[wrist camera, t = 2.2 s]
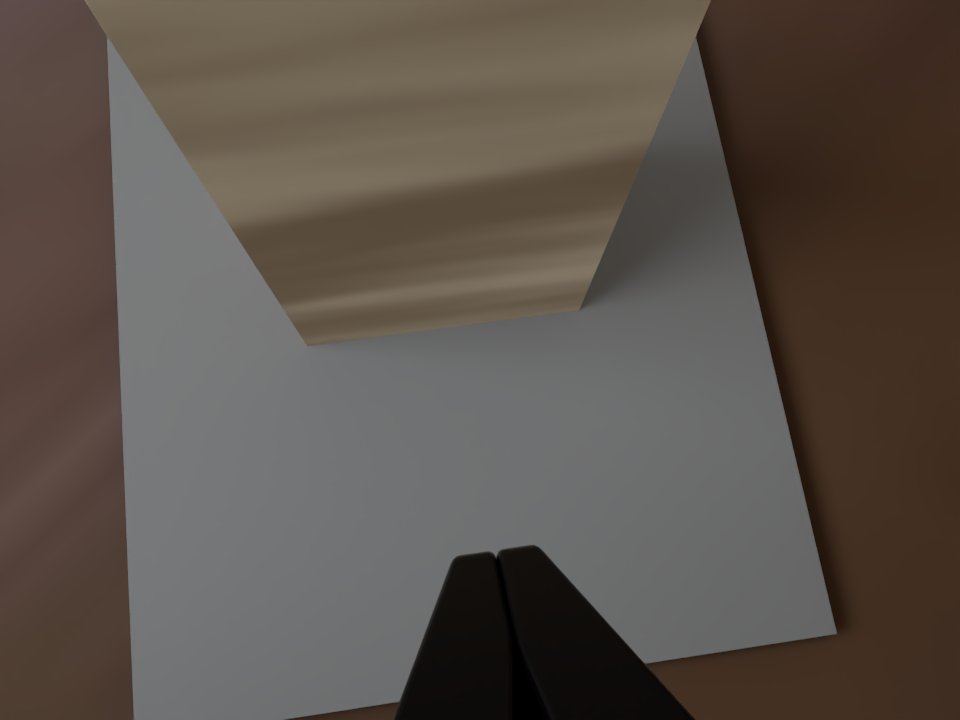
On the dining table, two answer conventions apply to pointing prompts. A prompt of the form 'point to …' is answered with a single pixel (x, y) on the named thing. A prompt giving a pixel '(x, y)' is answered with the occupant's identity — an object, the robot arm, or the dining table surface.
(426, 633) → the robot arm
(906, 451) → the dining table surface
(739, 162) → the dining table surface
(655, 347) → the rubber mat
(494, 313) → the birch block
